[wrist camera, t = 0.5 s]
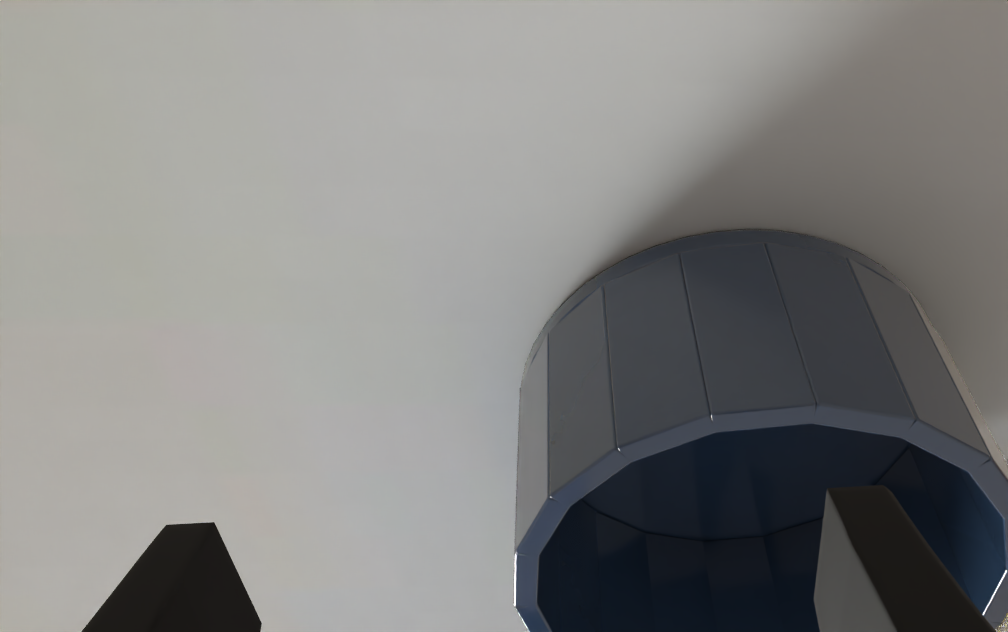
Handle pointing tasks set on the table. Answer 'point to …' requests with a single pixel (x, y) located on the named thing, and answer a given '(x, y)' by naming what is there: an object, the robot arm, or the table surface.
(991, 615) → the dark grey hollow cylinder
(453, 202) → the table surface
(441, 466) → the table surface
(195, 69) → the table surface
